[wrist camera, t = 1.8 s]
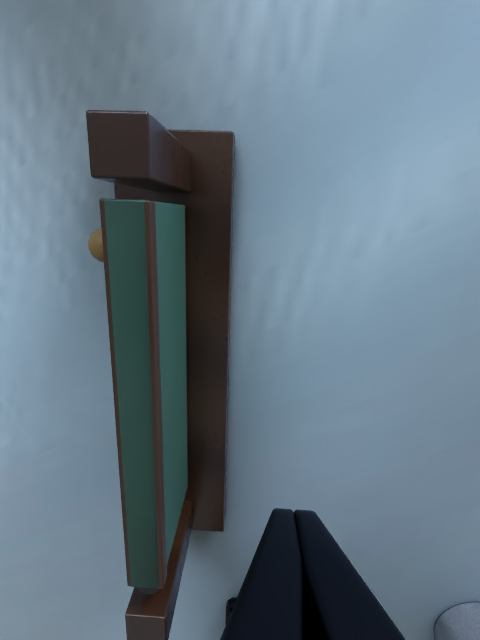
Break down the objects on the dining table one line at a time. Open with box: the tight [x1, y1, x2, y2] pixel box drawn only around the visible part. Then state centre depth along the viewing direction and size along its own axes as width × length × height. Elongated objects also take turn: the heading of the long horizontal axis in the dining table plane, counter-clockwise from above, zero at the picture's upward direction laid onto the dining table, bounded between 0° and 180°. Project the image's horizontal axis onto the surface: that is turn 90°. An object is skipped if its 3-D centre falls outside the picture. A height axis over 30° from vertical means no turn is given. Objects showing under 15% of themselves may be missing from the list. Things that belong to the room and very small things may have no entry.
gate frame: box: [86, 110, 235, 640], centre depth 15 cm, size 20×5×7 cm, turn 178°
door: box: [88, 199, 188, 594], centre depth 14 cm, size 15×3×5 cm, turn 178°
